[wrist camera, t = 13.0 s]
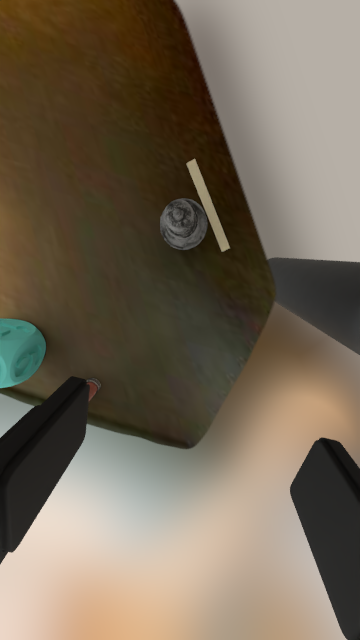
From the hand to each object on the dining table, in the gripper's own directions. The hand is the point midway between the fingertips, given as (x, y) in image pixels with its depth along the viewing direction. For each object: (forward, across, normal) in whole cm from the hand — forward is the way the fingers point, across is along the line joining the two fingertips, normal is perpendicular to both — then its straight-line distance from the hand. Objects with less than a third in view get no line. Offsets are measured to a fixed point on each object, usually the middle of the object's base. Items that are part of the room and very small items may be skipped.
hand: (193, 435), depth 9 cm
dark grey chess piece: (+25, +4, -10) cm, 28 cm away
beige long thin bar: (+25, +2, -13) cm, 28 cm away
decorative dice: (+25, +28, +14) cm, 40 cm away
